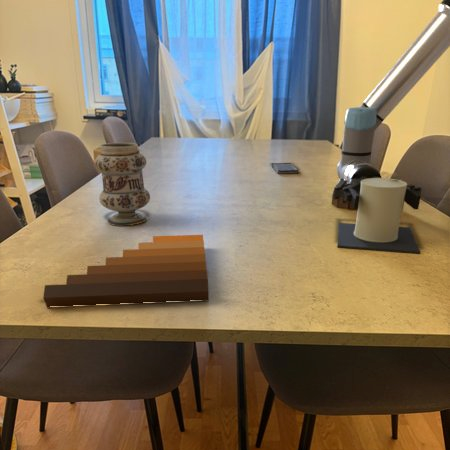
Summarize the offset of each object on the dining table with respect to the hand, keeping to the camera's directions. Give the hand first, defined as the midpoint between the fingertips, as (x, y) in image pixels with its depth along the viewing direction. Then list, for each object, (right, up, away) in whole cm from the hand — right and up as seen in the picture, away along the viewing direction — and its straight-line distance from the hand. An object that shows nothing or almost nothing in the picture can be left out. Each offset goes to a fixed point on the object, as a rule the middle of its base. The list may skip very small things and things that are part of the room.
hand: (387, 202), depth 87 cm
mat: (0, -6, +8) cm, 10 cm away
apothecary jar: (-57, 0, +20) cm, 61 cm away
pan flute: (-49, -15, -9) cm, 52 cm away
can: (0, -6, +7) cm, 9 cm away
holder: (+6, +7, +32) cm, 33 cm away
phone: (-10, +30, +77) cm, 83 cm away
